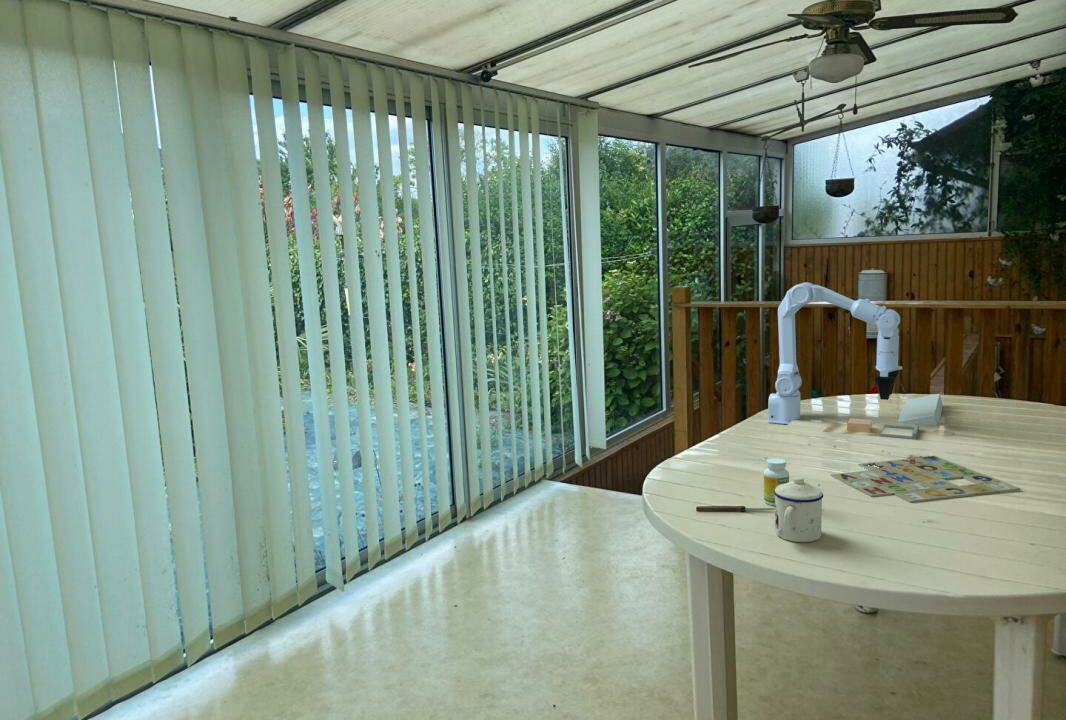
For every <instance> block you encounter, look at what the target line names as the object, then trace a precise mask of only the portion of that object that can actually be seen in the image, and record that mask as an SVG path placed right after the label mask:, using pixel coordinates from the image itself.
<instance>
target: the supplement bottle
mask: <svg viewBox="0 0 1066 720" xmlns="http://www.w3.org/2000/svg"><path fill="white" fill-rule="evenodd" d="M766 467H767V468H765V469H764V471H763V502H764V503H765V504H767V505H770V506H773V507H775V494H774V491H775V489H776V487H777V486H779V485H781V484H786V483H788V482H790V473H789V470H787V469H786V467H787V461H786V460H785V459H782V458H777V457H776V458H775V457H773V458H770V459H769V458H768V459H767V460H766Z"/></svg>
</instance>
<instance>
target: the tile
mask: <svg viewBox="0 0 1066 720" xmlns="http://www.w3.org/2000/svg"><path fill="white" fill-rule="evenodd" d="M846 424H847V431H853V432H864V433H870V431H871V429H872V426H873V419H866V418H865V419H864V418H852V417H850V418H849V419H848V420H847V422H846Z"/></svg>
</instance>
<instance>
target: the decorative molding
mask: <svg viewBox="0 0 1066 720" xmlns="http://www.w3.org/2000/svg"><path fill="white" fill-rule="evenodd" d="M943 405H944V404H943V400H942V398H941V394H940V393H935V394H929V395H925V396H923V395H922V396H919V397H913V398H909V399H908V398H907V399H906V401H905V403H904V406H903V408H902V410H901V413H900V414H899V417H898V419H897V423H899V424H900V423H901V424H909V425H911V424H912V425H916V424H919V425H926V426H938V422H939V421H940V420H941V415H942V411H943V407H944V406H943Z"/></svg>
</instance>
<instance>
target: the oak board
mask: <svg viewBox="0 0 1066 720" xmlns="http://www.w3.org/2000/svg"><path fill="white" fill-rule="evenodd" d="M884 429H885V428H884V426H881V425H880V426H878V425H872V429H871V431H870V433H864V432H853V431H847V423H843V422H829V424H828V425H827V426H826V427H825V429H823V432H825V433H835V434H846V435H847V434H848V435H858V436H869V437H879V436H880V433H882V434H883V431H884Z"/></svg>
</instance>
